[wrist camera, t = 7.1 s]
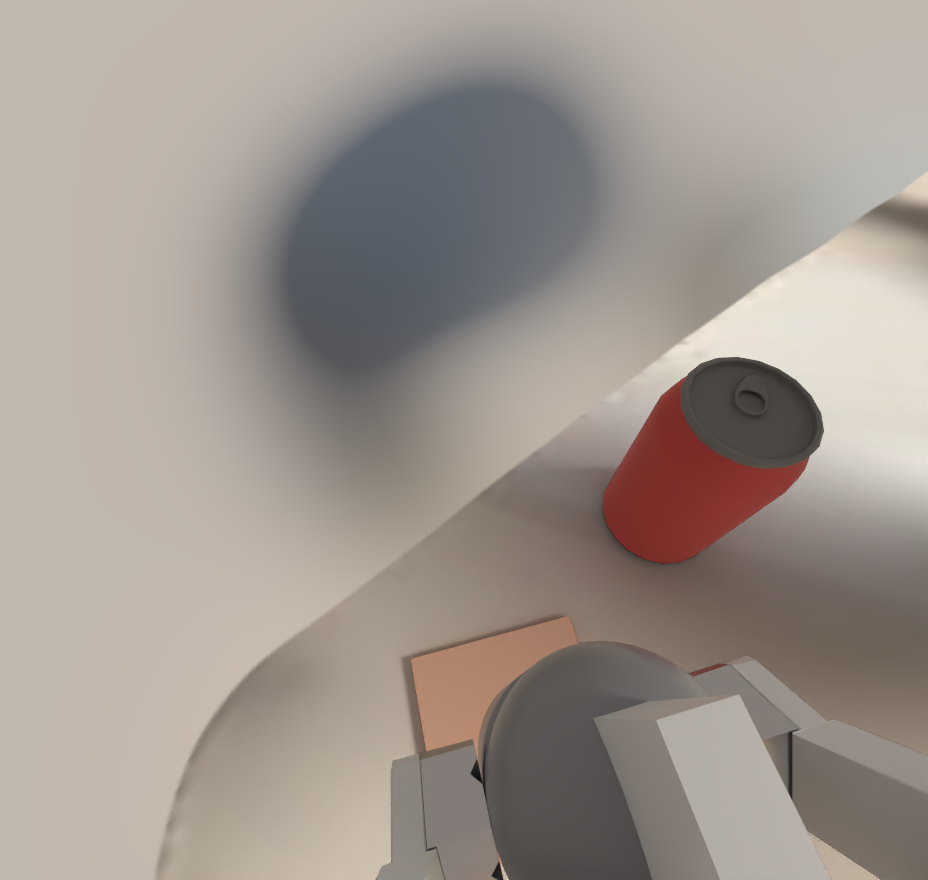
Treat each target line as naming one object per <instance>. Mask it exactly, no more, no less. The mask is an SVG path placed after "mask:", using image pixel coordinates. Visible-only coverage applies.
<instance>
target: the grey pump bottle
mask: <svg viewBox="0 0 928 880" xmlns="http://www.w3.org/2000/svg"><path fill="white" fill-rule="evenodd" d="M478 762H479V768H480V773H481V778H482V782H483V787H484V793H485V798H486V803H487V808H488V814H489V818H490V823H491V828H492V833H493V837H494V841H495V845H496V849H497V851H498V854H499V857H500V859H501V862H502V864H503V867H504V870H505V872H506V874H507V876H508V878H509V880H831V878H830V876H829V874H828V872H827V870H826V868H825V866H824V864H823V862H822V860H821V858H820V856H819V854H818V852H817V850H816V848H815V846H814V844H813V842H812V840H811V838H810V836H809V834H808V832H807V830H806V828H805V826H804V824H803V822H802V820H801V818H800V816H799V814H798V812H797V810H796V808H795V806H794V804H793V802H792V800H791V798H790V796H789V794H788V791H787V789H786V787H785V785H784V783H783V781H782V779H781V777H780V775H779V773H778V771H777V769H776V767H775V765H774V763H773V761H772V759H771V757H770V755H769V753H768V751H767V749H766V747H765V745H764V743H763V741H762V739H761V737H760V735H759V733H758V731H757V729H756V727H755V725H754V723H753V721H752V719H751V717H750V715H749V713H748V711H747V709H746V707H745V705H744V703H743V701H742V699H741V697H740V695H739V694H737V695H723V696H713V695H712V694H711V693H710V692H709V691H708V690H707V689H706V688H705V687H704V686H703V685H702V684H701V683H699V682H698V681H697V680H696V679H694V678H693V677H692V676H691V675H690V674H688V673H687V672H686V671H685V670H683V669H682V668H680V667H678V666H677V665H675V664H674V663H672V662H671V661H669V660H667V659H665V658H663V657H661V656H659V655H657V654H655V653H653V652H650V651H648V650H645V649H642V648H639V647H636V646H632V645H627V644H623V643H619V642H608V641H595V642H585V643H580V644H575V645H571V646H568V647H565V648H562V649H559V650H557V651H555V652H553V653H551V654H549V655H547V656H545V657H544V658H542V659H541V660H539V661H538V662H537V663H535V664H534V665H533V666H531V667H530V668H529V669H528V670H526V671H525V672H524V673H522V674H521V675H520V676H519V677H517V678H516V679H515V680H513V681H512V682H511V683H510V684H508V685H507V686H506V687H504V688H503V689H502V690H501V691H500V692H499V693H498V694H497V695H496V697H495V698H494V699H493V701H492V702H491V704H490V706H489V707H488V709H487V711H486V714H485V716H484V718H483V721H482V725H481V728H480V734H479V740H478Z"/></svg>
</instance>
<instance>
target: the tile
mask: <svg viewBox="0 0 928 880" xmlns="http://www.w3.org/2000/svg"><path fill="white" fill-rule="evenodd" d="M575 644H579V643H578V641H577V638H576V635H575V632H574V629H573V626H572V623H571V621H570V618H569V616H566V617H562V618H559V619H555V620H551V621H548V622H544V623H540V624H537V625H533V626H529V627H526V628H522V629H518V630H515V631H511V632H507V633H504V634H500V635H496V636H493V637H489V638H485V639H482V640H478V641H474V642H471V643H467V644H463V645H460V646H456V647H452V648H449V649H445V650H441V651H438V652H434V653H430V654H427V655H423V656H419V657H416V658H412V659H411V664H412V670H413V676H414V682H415V688H416V694H417V700H418V706H419V712H420V718H421V724H422V730H423V736H424V742H425V748H426V751H429V750H433V749H437V748H441V747H444V746H448V745H452V744H455V743H459V742H463V741H467V740H470V739H473V742H474V746H475V751H476V755H477V759H478V740H479V734H480V728H481V725H482V721H483V718H484V716H485V714H486V711H487V709H488V707H489V706H490V704H491V702H492V701H493V699H494V698H495V697H496V695H497V694H498V693H499V692H500V691H501V690H502V689H503V688H504V687H506V686H507V685H508V684H510V683H511V682H512V681H513V680H515V679H516V678H517V677H519V676H520V675H521V674H522V673H524V672H525V671H526V670H528V669H529V668H530V667H531V666H533V665H534V664H535V663H537V662H538V661H539V660H541V659H542V658H544V657H545V656H547V655H549V654H551V653H553V652H555V651H557V650H559V649H562V648H565V647H568V646H571V645H575ZM478 764H479V762H478ZM479 769H480V768H479ZM497 852H498V851H497ZM498 857H499V854H498ZM499 861H500V864H501V863H502V862H501V859H500V857H499Z"/></svg>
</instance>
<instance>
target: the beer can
mask: <svg viewBox="0 0 928 880" xmlns="http://www.w3.org/2000/svg"><path fill="white" fill-rule="evenodd" d="M823 432H824V429H823V422H822V416H821V412H820V411H819V409H818V407H817V405H816V403H815V402H814V400H813V398H812V396H811V395H810V394H809V393H808V392H807V391H806V390H805V389H804V388H803V387H802V386H801V385H800V384H799V383H798V382H797V381H796V380H795V379H793V378H792V377H790V376H789V375H787V374H786V373H784V372H783V371H781V370H780V369H778V368H775V367H773V366H770V365H768V364H765V363H763V362H760V361H756V360H751V359H745V358H740V357H728V358H716V359H713V360H710V361H707V362H704V363H701V364H700V365H699V366H697V367H696V368H695V369H693V370H692V371H691V372H690V373H689V374H688V375H687V376H686V377H685V378H683V379H681V380H680V381H679V382H678V383H676V384H675V385H674V386H673V387H671V388H670V389H669V390H668V391H667V392H665V393H664V394H663V395H662V396H661V397H660V399H659V400H658V402H657V404H656V405H655V407H654V409H653V410H652V412H651V414H650V415H649V417H648V419H647V420H646V422H645V424H644V425H643V427H642V429H641V430H640V432H639V434H638V435H637V437H636V439H635V440H634V442H633V444H632V445H631V447H630V449H629V451H628V452H627V454H626V456H625V457H624V459H623V461H622V462H621V464H620V466H619V467H618V469H617V471H616V472H615V474H614V476H613V477H612V479H611V481H610V483H609V484H608V486H607V488H606V490H605V492H604V499H603V511H604V515H605V520H606V523H607V524H608V526H609V528H610V530H611V531H612V533H613V535H614V537H615V538H616V539H617V540H618V541H619V542H620V543H621V544H622V545H623V546H624V547H625V548H626V549H627V550H629V551H631V552H632V553H634V554H636V555H638V556H639V557H641V558H643V559H646V560H650V561H654V562H658V563H679V562H682V561H684V560H687V559H689V558H691V557H694V556H695V555H697V554H698V553H700V552H701V551H702V550H704V549H705V548H707V547H708V546H709V545H711V544H712V543H714V542H715V541H717V540H718V539H719V538H721V537H722V536H724V535H725V534H727V533H728V532H729V531H731V530H732V529H734V528H735V527H736V526H738V525H739V524H741V523H742V522H744V521H745V520H746V519H748V518H749V517H751V516H752V515H754V514H755V513H756V512H758V511H759V510H761V509H762V508H763V507H765V506H766V505H768V504H769V503H771V502H772V501H773V500H775V499H776V498H778V497H779V496H781V495H782V494H783V493H785V492H786V491H787V490H788V489H789V488H790V487H791V485H792V484H793V483H794V482H795V481H796V480H797V479H798V478H799V477H800V475H801V474H802V472H803V471H804V470H805V467H806V465H807V462H808V459H809V456H810V455H811V454H812V453H813V452H814V451H815V450H816V449H817V448H818V447H819V446H820V442H821V439H822V435H823Z"/></svg>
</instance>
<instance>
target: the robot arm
mask: <svg viewBox="0 0 928 880" xmlns="http://www.w3.org/2000/svg"><path fill="white" fill-rule="evenodd" d="M688 674H690V675H691V676H692V677H693V678H694V679H696V680H697V681H698V682H699V683H701V684H702V685H703V686H704V687H705V688H706V689H707V690H708V691H709V692H710V693H711V694H712V695H713V696H723V695H737V694H739V695H740V697H741V699H742V701H743V703H744V705H745V707H746V709H747V711H748V713H749V715H750V717H751V719H752V721H753V723H754V725H755V727H756V729H757V731H758V733H759V735H760V737H761V739H762V741H763V743H764V745H765V747H766V749H767V751H768V753H769V755H770V757H771V759H772V761H773V763H774V765H775V767H776V769H777V771H778V773H779V775H780V777H781V779H782V781H783V783H784V785H785V787H786V789H787V791H788V794H789V796H790V798H791V800H792V802H793V804H794V806H795V808H796V810H797V812H798V814H799V816H800V818H801V820H802V822H803V824H804V826H805V828H806V830H807V831H809V832H810V833H812V834H813V835H815V836H816V837H818V838H819V839H821V840H822V841H824V842H825V843H827V844H828V845H830V846H831V847H833V848H834V849H836V850H837V851H839V852H840V853H842V854H843V855H845V856H846V857H848V858H849V859H851V860H852V861H854V862H855V863H857V864H858V865H860V866H861V867H863V868H864V869H866V870H867V871H869V872H870V873H872V874H873V875H875V876H876V877H878V878H879V879H881V880H928V756H927V755H924V754H922V753H919V752H917V751H914V750H912V749H909V748H907V747H904V746H902V745H899V744H897V743H894V742H892V741H889V740H886V739H884V738H881V737H879V736H876V735H874V734H871V733H869V732H866V731H864V730H861V729H859V728H856V727H854V726H851V725H849V724H846V723H844V722H841V721H838V720H836V719H833V720H829V721H826V720H825V719H824V718H823V717H822V716H821V715H819V714H818V713H817V712H816V711H815V710H814V709H812V708H811V707H810V706H809V705H808V704H807V703H805V702H804V701H803V700H802V699H801V698H800V697H798V696H797V695H796V694H795V693H794V692H793V691H791V690H790V689H789V688H788V687H787V686H786V685H784V684H783V683H782V682H781V681H780V680H779V679H777V678H776V677H775V676H774V675H773V674H772V673H771V672H769V671H768V670H767V669H766V668H765V667H764V666H762V665H761V664H760V663H759V662H758V661H757V660H755V659H754V658H752V657H749V656H744V657H741V658H737V659H734V660H731V661H727V662H724V663H723V664H717V665H714V666H711V667H707V668H704V669H701V670H698V671H695V672H691V673H688ZM376 880H503V876H502V871H501V866H500V861H499V857H498V852H497V849H496V845H495V841H494V837H493V833H492V828H491V823H490V818H489V814H488V808H487V803H486V798H485V793H484V787H483V782H482V778H481V773H480V769H479V764H478V759H477V755H476V751H475V746H474V742H473V739H470V740H467V741H463V742H459V743H455V744H452V745H448V746H444V747H441V748H437V749H433V750H429V751H426V752H422V753H420V754H416V755H413V756H409V757H405V758H402V759H398V760H394V761H393V762H392V767H391V863H389V864H386V865H383V866H382V867H381V869H380V872H379V874H378V876H377V878H376Z"/></svg>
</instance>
